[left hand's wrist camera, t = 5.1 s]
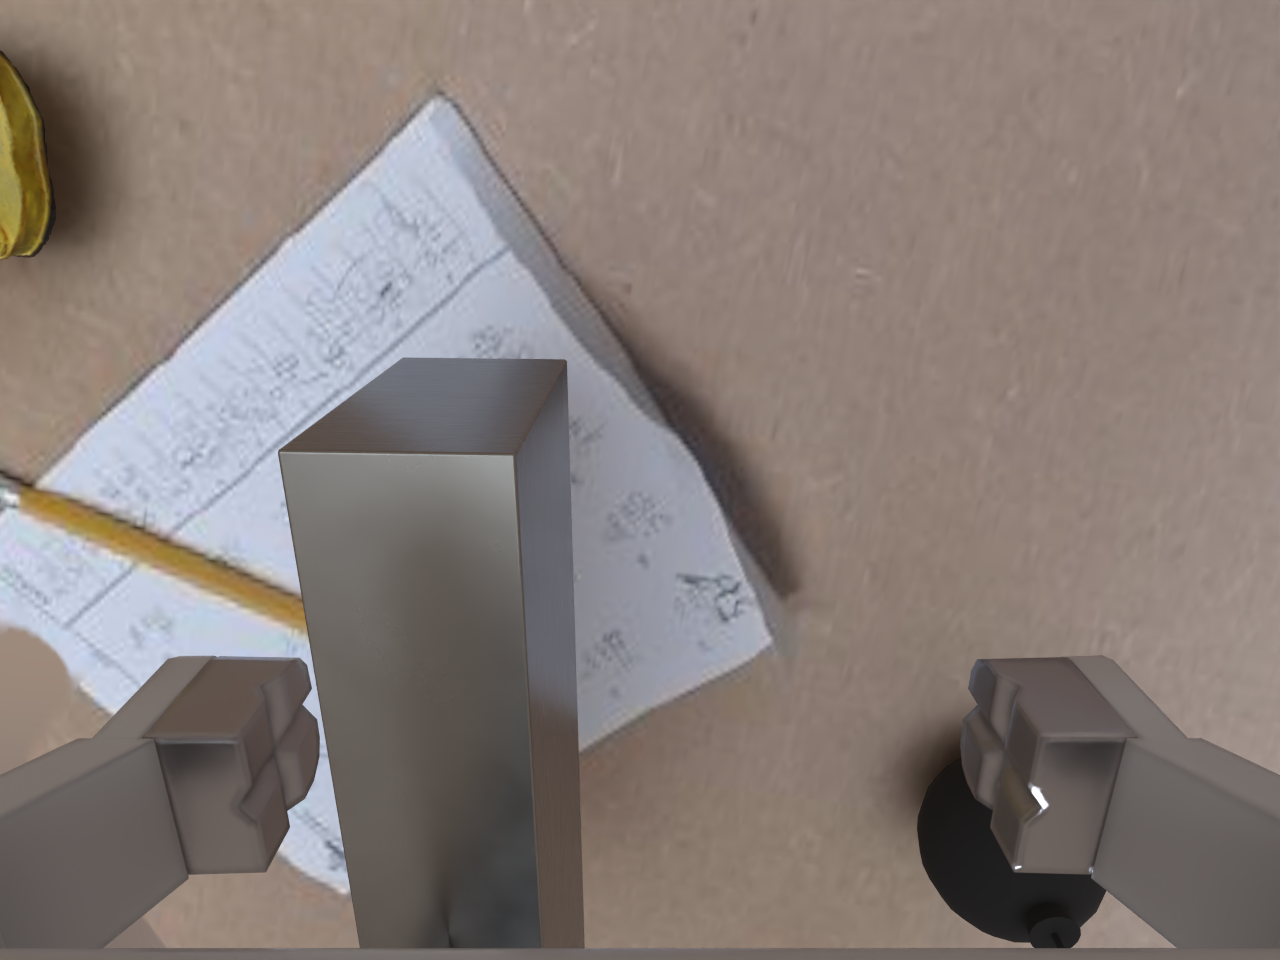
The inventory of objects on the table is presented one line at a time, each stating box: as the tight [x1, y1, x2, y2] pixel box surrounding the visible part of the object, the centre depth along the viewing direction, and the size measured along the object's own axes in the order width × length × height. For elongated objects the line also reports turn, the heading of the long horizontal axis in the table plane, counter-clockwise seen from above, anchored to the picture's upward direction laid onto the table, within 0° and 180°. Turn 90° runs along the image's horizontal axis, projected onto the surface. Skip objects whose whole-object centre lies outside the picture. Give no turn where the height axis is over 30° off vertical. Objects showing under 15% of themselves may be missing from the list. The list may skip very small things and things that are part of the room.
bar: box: [278, 358, 585, 948], centre depth 26 cm, size 27×5×8 cm, turn 0°
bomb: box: [917, 758, 1106, 948], centre depth 36 cm, size 8×8×12 cm
